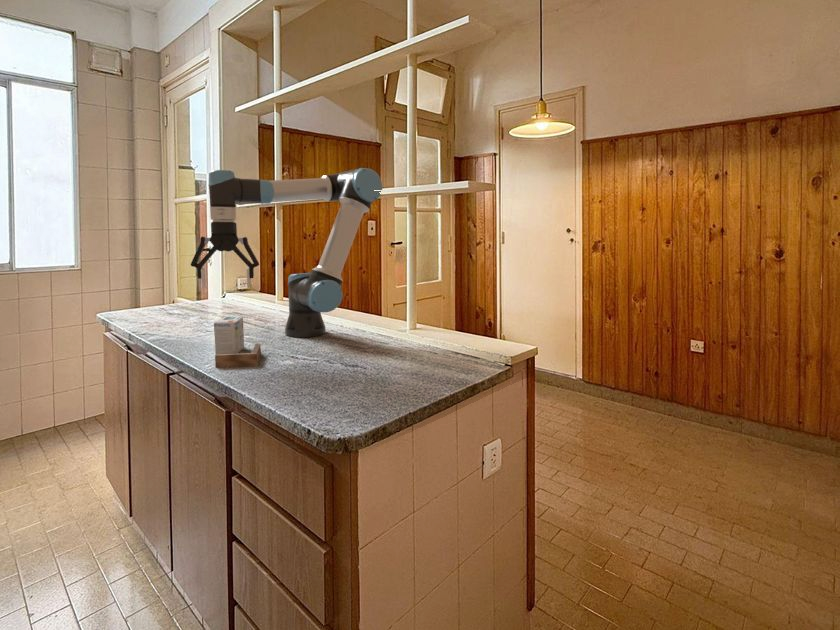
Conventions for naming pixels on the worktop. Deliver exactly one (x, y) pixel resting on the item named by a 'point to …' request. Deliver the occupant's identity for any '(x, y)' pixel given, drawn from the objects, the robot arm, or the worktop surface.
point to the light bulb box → (229, 335)
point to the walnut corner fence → (239, 358)
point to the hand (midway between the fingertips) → (226, 288)
